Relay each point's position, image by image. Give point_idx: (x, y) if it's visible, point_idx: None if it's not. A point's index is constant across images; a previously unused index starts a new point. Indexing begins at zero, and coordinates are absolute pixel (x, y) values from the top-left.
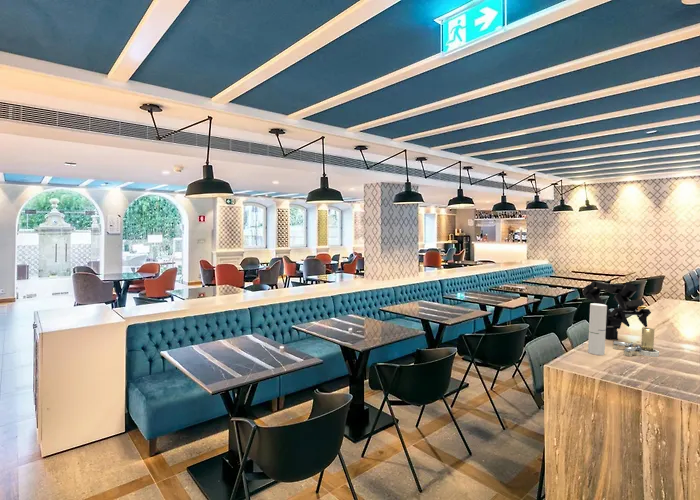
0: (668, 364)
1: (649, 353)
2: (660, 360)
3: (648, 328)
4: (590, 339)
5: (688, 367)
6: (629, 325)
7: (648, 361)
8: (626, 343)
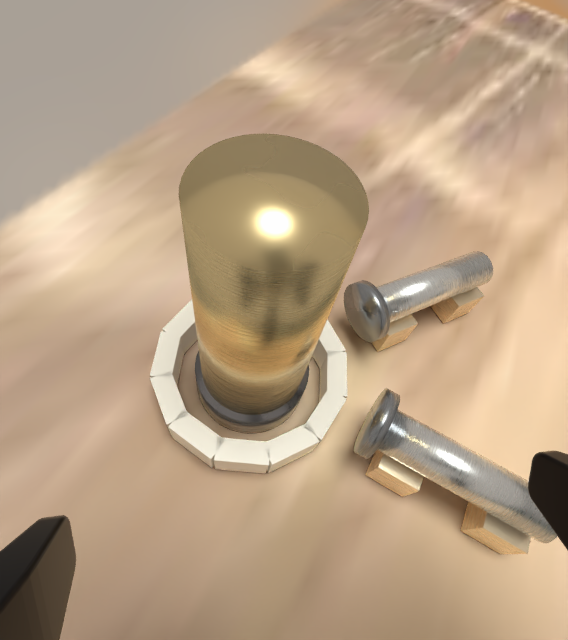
0: None
1: None
2: None
3: (264, 204)
4: None
5: (173, 136)
6: (544, 453)
7: None
8: (435, 433)
